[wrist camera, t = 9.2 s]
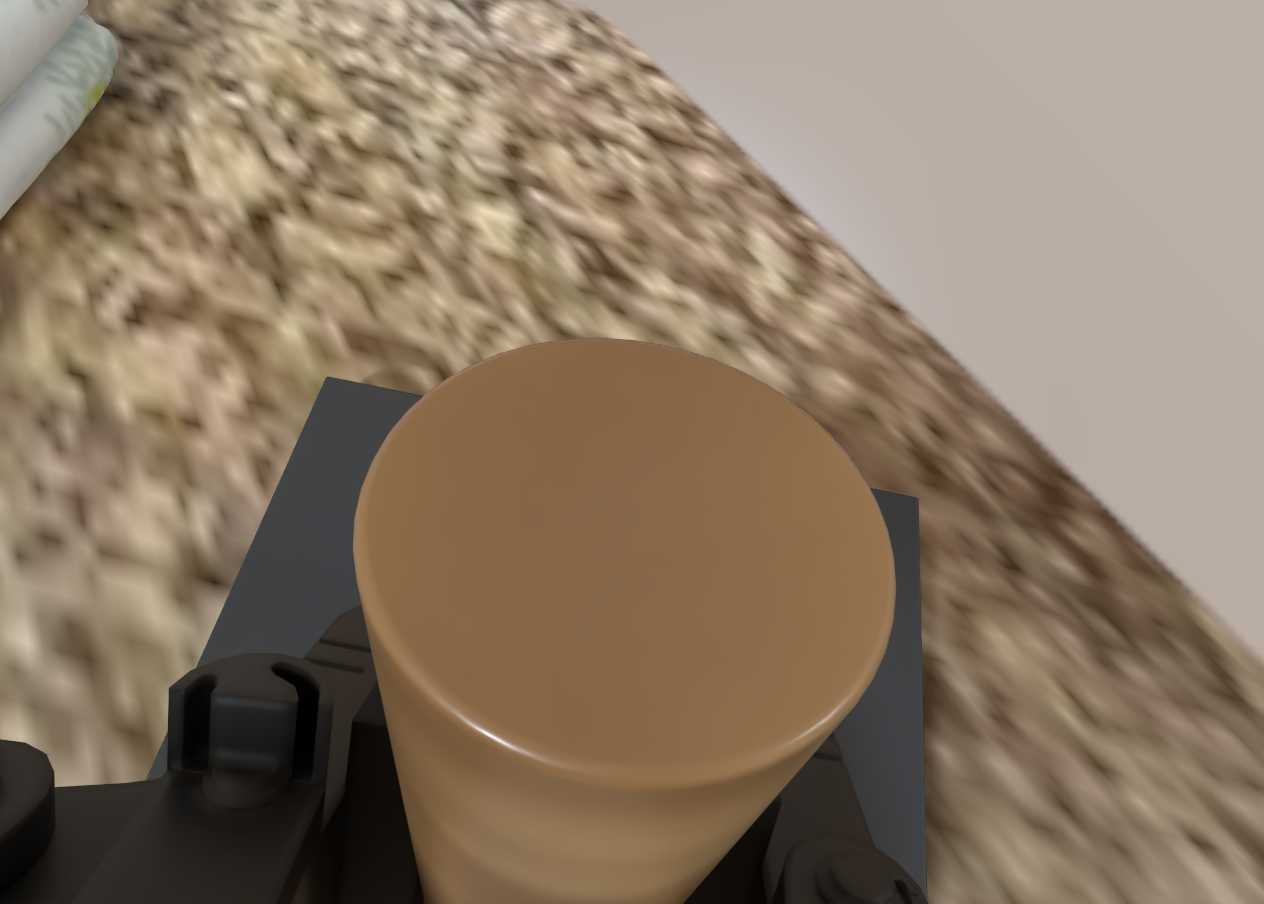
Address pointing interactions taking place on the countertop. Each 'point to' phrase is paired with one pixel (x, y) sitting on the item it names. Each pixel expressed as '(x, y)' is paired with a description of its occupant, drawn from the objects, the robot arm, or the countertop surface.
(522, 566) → the scrub brush
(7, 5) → the towel
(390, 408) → the serving tray
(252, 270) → the countertop surface
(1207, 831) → the countertop surface
